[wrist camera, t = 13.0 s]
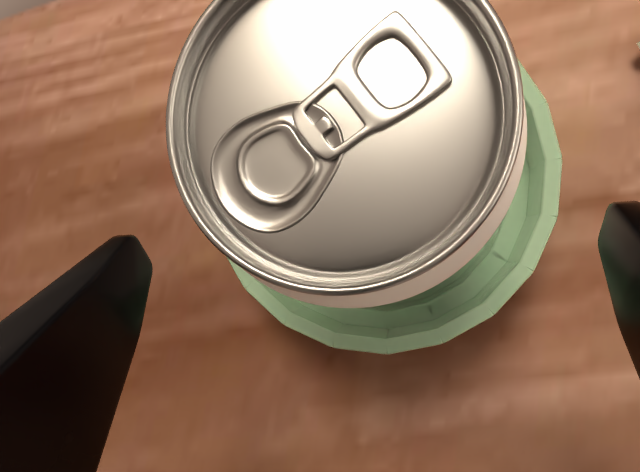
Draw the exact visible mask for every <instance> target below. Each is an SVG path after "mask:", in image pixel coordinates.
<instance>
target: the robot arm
mask: <svg viewBox="0 0 640 472" xmlns="http://www.w3.org/2000/svg"><path fill="white" fill-rule="evenodd" d="M598 248H599V253H600V257H601V261H602V265H603V269H604V272H605V276H606V280H607V284H608V288H609V292H610V296H611V300H612V304H613V308H614V311H615V315H616V319H617V322H618V325H619V328H620V331H621V334H622V336H623V339H624V341H625V344H626V346H627V349H628V351H629V354H630V356H631V359H632V361H633V364H634V366H635V369H636V371H637V374H638V376H639V379H640V202H638V201H623V202H613V203H611V204H610V205H609V206H608V208H607V210H606V214H605V217H604V220H603V223H602V227H601V230H600V233H599V237H598ZM151 277H152V263H151V261H150V259H149V257H148V255H147V254H146V252H145V250H144V249H143V247H142V245H141V244H140V242H139V240H138V239H137V238H136V237H135V236H134V235H118V236H114V237H112V238H111V239H109V240H108V241H107V242H105V243H104V244H103V245H101V246H100V247H99V248H97V249H96V250H95V251H93V252H92V253H91V254H89V255H88V256H87V257H85V258H84V259H83V260H81V261H80V262H79V263H77V264H76V265H75V266H74V267H72V268H71V269H70V270H68V271H67V272H66V273H64V274H63V275H62V276H60V277H59V278H58V279H56V280H55V281H54V282H52V283H51V284H50V285H48V286H47V287H46V288H44V289H43V290H42V291H40V292H39V293H38V294H37V295H35V296H34V297H33V298H31V299H30V300H29V301H27V302H26V303H25V304H23V305H22V306H21V307H19V308H18V309H17V310H15V311H14V312H13V313H11V314H10V315H9V316H7V317H6V318H5V319H3V320H2V321H1V322H0V472H96V471H97V468H98V465H99V462H100V459H101V455H102V452H103V449H104V446H105V443H106V440H107V437H108V433H109V430H110V427H111V424H112V421H113V418H114V415H115V412H116V408H117V405H118V402H119V399H120V396H121V393H122V390H123V386H124V383H125V380H126V377H127V374H128V371H129V368H130V364H131V361H132V358H133V355H134V352H135V349H136V346H137V342H138V339H139V335H140V331H141V326H142V322H143V317H144V312H145V307H146V302H147V297H148V292H149V287H150V282H151Z"/></svg>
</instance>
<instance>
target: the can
mask: <svg viewBox="0 0 640 472" xmlns="http://www.w3.org/2000/svg"><path fill="white" fill-rule="evenodd" d="M166 140H167V149H168V155H169V160H170V165H171V169H172V173H173V176H174V179H175V182H176V185H177V188H178V190H179V193H180V195H181V197H182V200H183V202H184V204H185V206H186V208H187V209H188V211H189V213H190V215H191V216H192V218H193V219H194V221H195V222H196V224H197V225H198V227H199V228H200V229H201V231H202V232H203V233H204V234H205V236H206V237H207V238H208V239H209V240H210V241H211V243H212V244H213V245H214V246H215V247H216V248H217V249H218V250H219V251H221V252H222V253H223V254H224V255H225V256H226V257H227V258H229V259H230V260H231V261H233V262H234V263H235V264H237V265H238V266H239V267H241V268H242V269H243V270H245V271H246V272H247V273H248V274H250V275H251V276H252V277H254V278H255V279H256V280H258V281H259V282H261V283H262V284H264V285H266V286H267V287H269V288H271V289H273V290H275V291H277V292H279V293H281V294H283V295H286V296H288V297H291V298H293V299H296V300H299V301H303V302H306V303H310V304H314V305H319V306H326V307H334V308H365V307H374V306H380V305H385V304H390V303H394V302H398V301H401V300H404V299H407V298H410V297H413V296H415V295H418V294H420V293H422V292H424V291H426V290H428V289H430V288H432V287H434V286H436V285H438V284H439V283H441V282H443V281H444V280H446V279H447V278H449V277H450V276H452V275H453V274H454V273H456V272H457V271H458V270H460V269H461V268H462V267H463V266H464V265H466V264H467V263H468V262H469V261H470V260H471V259H472V258H473V257H474V256H475V255H476V254H477V253H478V252H479V251H480V250H481V248H482V247H483V246H484V245H485V244H486V243H487V241H488V240H489V239H490V238H491V236H492V235H493V234H494V232H495V231H496V229H497V228H498V226H499V225H500V223H501V222H502V220H503V218H504V216H505V215H506V213H507V211H508V209H509V207H510V205H511V202H512V200H513V198H514V195H515V193H516V190H517V187H518V184H519V181H520V178H521V174H522V170H523V166H524V160H525V154H526V146H527V116H526V107H525V100H524V95H523V85H522V79H521V73H520V68H519V64H518V60H517V56H516V53H515V50H514V47H513V45H512V42H511V39H510V37H509V35H508V33H507V31H506V29H505V27H504V25H503V23H502V21H501V19H500V18H499V16H498V14H497V13H496V11H495V10H494V8H493V7H492V5H491V4H490V3H489V1H488V0H213V1H212V2H211V4H210V5H209V6H208V7H207V9H206V10H205V11H204V12H203V14H202V15H201V17H200V18H199V20H198V21H197V23H196V24H195V26H194V27H193V29H192V31H191V32H190V34H189V36H188V38H187V40H186V42H185V44H184V46H183V48H182V50H181V53H180V55H179V58H178V60H177V63H176V66H175V69H174V72H173V76H172V80H171V84H170V89H169V94H168V100H167V110H166Z"/></svg>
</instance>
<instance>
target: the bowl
mask: <svg viewBox="0 0 640 472" xmlns="http://www.w3.org/2000/svg"><path fill="white" fill-rule="evenodd" d="M517 60H518V58H517ZM518 64H519V68H520V73H521V79H522V85H523V95H524V100H525V107H526V116H527V146H526V154H525V160H524V166H523V170H522V174H521V178H520V181H519V184H518V187H517V190H516V193H515V195H514V198H513V200H512V202H511V205H510V207H509V209H508V211H507V213H506V215H505V216H504V218H503V220H502V222H501V223H500V225H499V226H498V228H497V229H496V231H495V232H494V234H493V235H492V236H491V238H490V239H489V240H488V241H487V243H486V244H485V245H484V246H483V247H482V248H481V250H480V251H479V252H478V253H477V254H476V255H475V256H474V257H473V258H472V259H471V260H470V261H469V262H468V263H467V264H466V265H464V266H463V267H462V268H461V269H460V270H458V271H457V272H456V273H454V274H453V275H452V276H450V277H449V278H447V279H446V280H444V281H443V282H441V283H439V284H438V285H436V286H434V287H432V288H430V289H428V290H426V291H424V292H422V293H420V294H418V295H415V296H413V297H410V298H407V299H404V300H401V301H398V302H394V303H390V304H385V305H380V306H374V307H365V308H334V307H326V306H319V305H314V304H310V303H306V302H303V301H299V300H296V299H293V298H291V297H288V296H286V295H283V294H281V293H279V292H277V291H275V290H273V289H271V288H269V287H267V286H266V285H264V284H262V283H261V282H259V281H258V280H256V279H255V278H254V277H252V276H251V275H250V274H248V273H247V272H246V271H245V270H243V269H242V268H241V267H239V266H238V265H237V264H235V263H234V262H233V261H231V260H230V259H229V258H227V259H228V260H229V262H230V264H231V266H232V267H233V269H234V271H235V273H236V274H237V276H238V278H239V280H240V281H241V283H242V285H243V287H244V288H246V291H247V292H248V293H249V294H251V295H252V296H253V297H254V298H255V299H256V300H257V301H258V302H259V303H260V304H261V305H262V306H263V307H265V308H266V309H267V310H268V311H269V312H270V313H271V314H272V315H273V316H274V317H275V318H276V319H278V320H279V321H280V322H281V323H282V324H284V325H285V326H287V327H289V328H291V329H293V330H295V331H297V332H299V333H302V334H304V335H306V336H308V337H310V338H312V339H314V340H317V341H319V342H321V343H323V344H325V345H327V346H329V347H333V348H338V349H346V350H354V351H362V352H370V353H378V354H394V353H399V352H404V351H409V350H414V349H420V348H425V347H430V346H435V345H440V344H442V343H446V342H448V341H449V340H451V339H453V338H455V337H457V336H458V335H460V334H462V333H464V332H466V331H467V330H469V329H471V328H473V327H475V326H476V325H478V324H480V323H482V322H484V321H485V320H487V319H489V318H491V317H492V316H493V315H495V314H496V313H497V312H498V311H499V310H500V309H501V307H502V306H503V305H504V304H505V303H506V302H507V301H508V300H509V299H510V298H511V297H512V295H513V294H514V293H515V292H516V291H517V290H518V289H519V288H520V287H521V286H522V285H523V283H524V282H525V281H526V280H527V279H528V278H529V277H530V276H531V275H532V274H533V271H534V270H535V269H536V266H537V264H538V262H539V260H540V257H541V255H542V253H543V250H544V248H545V246H546V244H547V241H548V239H549V237H550V235H551V232H552V230H553V228H554V225H555V223H556V221H557V217H558V210H559V198H560V185H561V173H562V159H561V158H562V154H561V151H560V147H559V143H558V139H557V136H556V132H555V128H554V124H553V121H552V117H551V113H550V109H549V106H548V103H546V102H547V101H546V99H545V98H544V96H543V95H542V93H541V92H540V90H539V89H538V87H537V86H536V85H535V83H534V82H533V80H532V79H531V77H530V76H529V74H528V73H527V71H526V70H525V69H524V67H523V66H522V64H521V63H520V61H519V60H518Z"/></svg>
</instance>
